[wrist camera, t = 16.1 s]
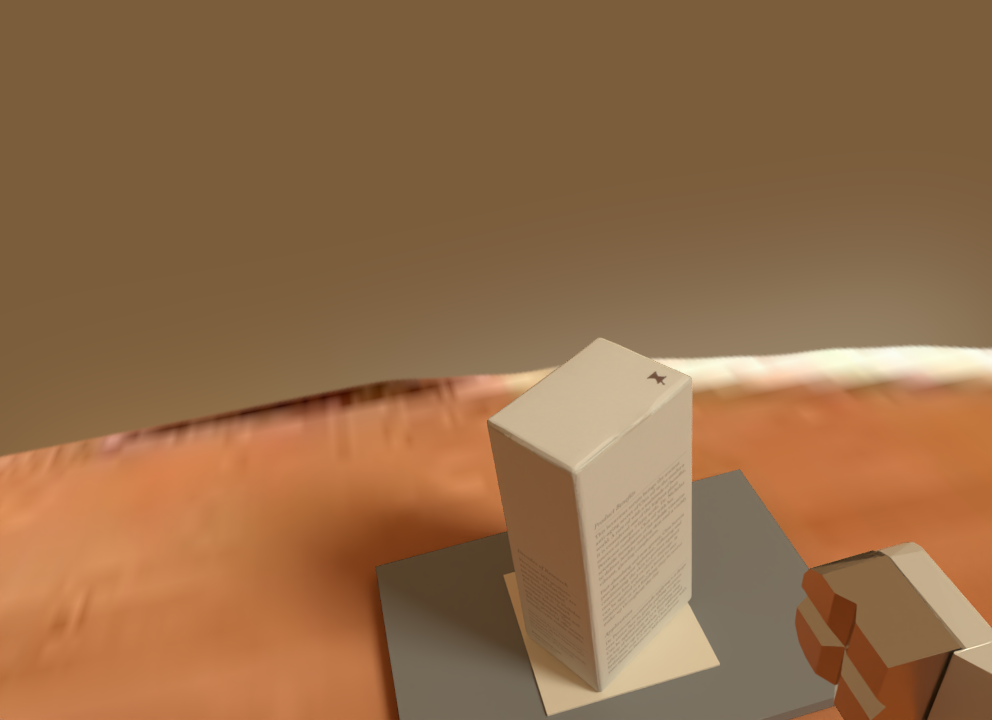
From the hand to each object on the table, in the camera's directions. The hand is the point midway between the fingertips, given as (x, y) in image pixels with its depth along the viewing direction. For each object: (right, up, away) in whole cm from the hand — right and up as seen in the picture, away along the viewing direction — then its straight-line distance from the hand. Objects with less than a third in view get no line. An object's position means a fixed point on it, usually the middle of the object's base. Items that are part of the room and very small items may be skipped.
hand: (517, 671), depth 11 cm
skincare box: (+4, -7, +24) cm, 26 cm away
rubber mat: (+4, -7, +25) cm, 26 cm away
